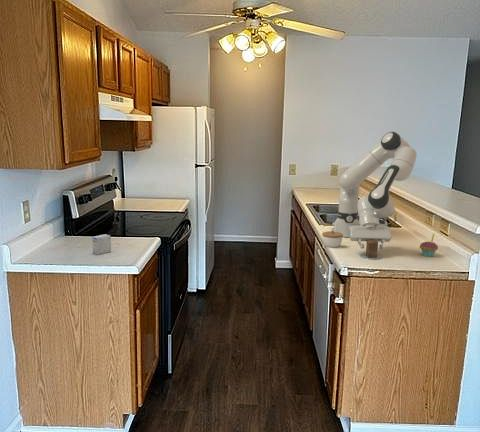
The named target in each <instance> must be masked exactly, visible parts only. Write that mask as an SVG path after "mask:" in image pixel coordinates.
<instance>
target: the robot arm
mask: <svg viewBox="0 0 480 432" xmlns="http://www.w3.org/2000/svg"><path fill="white" fill-rule="evenodd" d="M390 159H392V161H391V163H390V165H389V166H388V167H387V168H386V169H385V171H384V172H383V174H382V176H381V178H380V179H379V181H378V183H377V184H376V185H375V186H374V188H373V189H372V190H371V191H370V192H369V193H368V195H363V196H361V197H360V198H359V195H360V184H361V183H362V182H364V181H365V180H366V179H368V178H369V176H371V175H372V174H374V172H376V170H377V169H379V168H380V167H381V166H382V165H383V164H384V163H385V162H386V161H388V160H390ZM416 159H417V151H416V149H414V148H413V147H412V146H411V145H410V144H409V143H408V141H406V140H405V139H404V138H403V137H401V136H400V134H399V133H397V132H396V131H389V132H387V133H386V134H384V135H383V136H382V137H381V140H380V142H379V143H377V144H376V145H374V146H373V147H371V148H370V149H369V150H368V151H367V152H366V153H365V154H363V155H362V156H361V157H360V158H358V160H357V161H356V162H354V163H353V164H352V165H351V166H349V168H347V169H346V170H345V171H344V172H342V174H340V176H339V179H338V183H339V185H340V189H339V198H338V211H337V213H336V214H337V215H336V216H337V218H336V219H335V221H334V222H332V227H331V230H330V231H332V230H333V231H334V232H339V233H342V234H343V236H342V238H349V240H350V241H351V242H357V244H358V245H359V246H360V247H359V248H360V249H365V243H362V242H367V240H376V241H377V242H378V243H381V244H379V249H380V250H383V249H384V248H385V246H384V245H385V243H389V242H390V241H391V240H392V238H393V236H392V231H391V229H390V227H389V226H388V221H386V220H384V219H386V218H390V217H391V216H392V215H393V214H394V213H395V210H396V209H395V208H396V207H395V205H394V203H393V201H392V199H391V197H390V189H391V187H392V185H393V184H394V183H395V181H398V182H402V181H406V180H407V179H408V178H409V177H410V175H411V173H412V171H413V168H414V166H415V164H416ZM358 218H359V219H358Z"/></svg>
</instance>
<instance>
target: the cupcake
mask: <svg viewBox="0 0 480 432" xmlns="http://www.w3.org/2000/svg"><path fill="white" fill-rule="evenodd" d="M434 237H435V233H433V234H432V236H431V240H430V241H424V242H422V243H420V245H419V249H420V250H421V251H422V255H423V256H424V257H430V258H431V257H433V256H434V255H435V252H436V251H438V249H439V246H438V244H436V243H435V242H433V241H434Z"/></svg>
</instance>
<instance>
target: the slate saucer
mask: <svg viewBox="0 0 480 432" xmlns="http://www.w3.org/2000/svg"><path fill="white" fill-rule="evenodd" d="M359 257H360V258H362V259H364V260H370V261H379V260H383V258H384V257H383V256H382V255H379V254H377V258H368V257H367V256H366V253H362V254H360V255H359Z"/></svg>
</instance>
